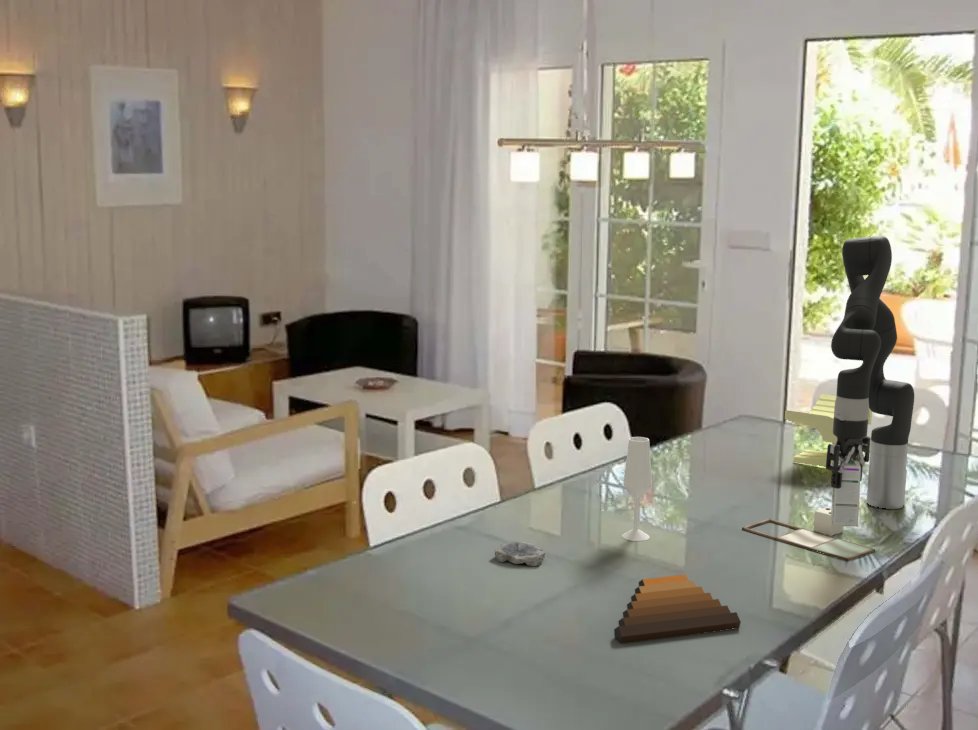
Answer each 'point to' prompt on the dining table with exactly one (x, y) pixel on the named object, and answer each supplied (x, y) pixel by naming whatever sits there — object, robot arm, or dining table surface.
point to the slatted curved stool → (818, 427)
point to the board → (816, 542)
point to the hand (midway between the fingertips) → (846, 484)
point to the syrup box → (847, 496)
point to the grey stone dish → (520, 553)
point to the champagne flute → (637, 480)
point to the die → (825, 522)
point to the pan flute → (672, 611)
